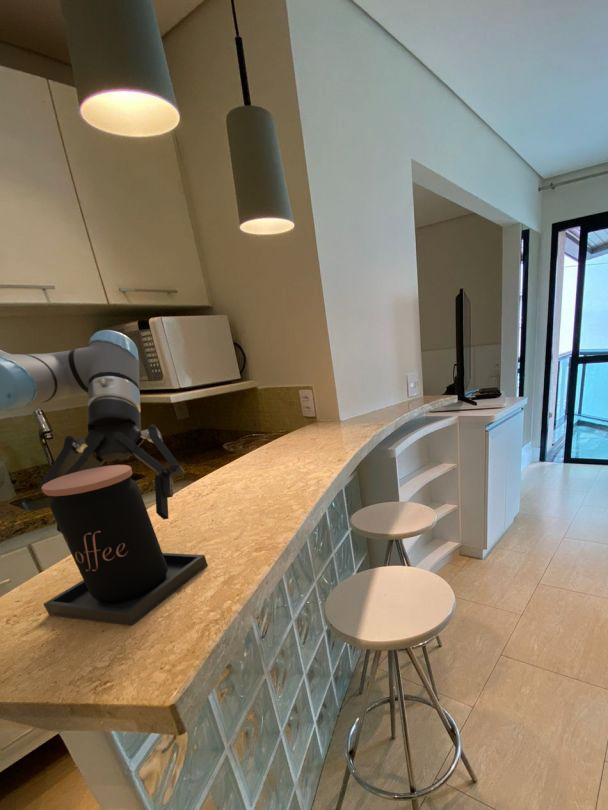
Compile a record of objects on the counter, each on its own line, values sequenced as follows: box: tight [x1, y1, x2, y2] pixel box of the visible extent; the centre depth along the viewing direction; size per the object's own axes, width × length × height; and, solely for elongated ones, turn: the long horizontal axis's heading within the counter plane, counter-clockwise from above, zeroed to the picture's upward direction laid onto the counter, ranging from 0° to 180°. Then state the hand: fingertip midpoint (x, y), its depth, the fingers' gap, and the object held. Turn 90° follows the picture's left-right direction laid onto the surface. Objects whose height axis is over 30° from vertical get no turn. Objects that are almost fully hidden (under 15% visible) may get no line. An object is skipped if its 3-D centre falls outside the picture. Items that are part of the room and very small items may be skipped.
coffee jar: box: [41, 464, 168, 604], centre depth 60 cm, size 11×11×18 cm
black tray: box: [43, 552, 208, 626], centre depth 63 cm, size 16×16×2 cm
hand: (114, 524), depth 62 cm, fingers open, 13 cm apart
